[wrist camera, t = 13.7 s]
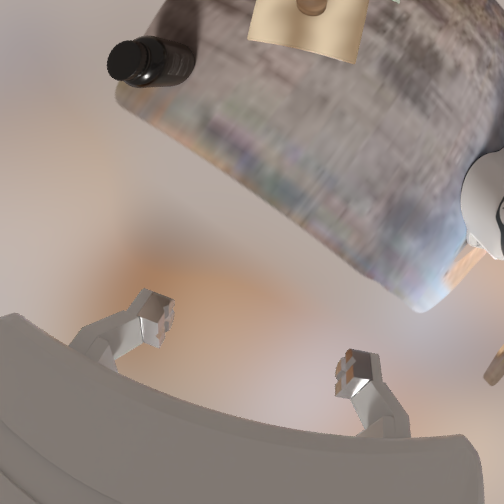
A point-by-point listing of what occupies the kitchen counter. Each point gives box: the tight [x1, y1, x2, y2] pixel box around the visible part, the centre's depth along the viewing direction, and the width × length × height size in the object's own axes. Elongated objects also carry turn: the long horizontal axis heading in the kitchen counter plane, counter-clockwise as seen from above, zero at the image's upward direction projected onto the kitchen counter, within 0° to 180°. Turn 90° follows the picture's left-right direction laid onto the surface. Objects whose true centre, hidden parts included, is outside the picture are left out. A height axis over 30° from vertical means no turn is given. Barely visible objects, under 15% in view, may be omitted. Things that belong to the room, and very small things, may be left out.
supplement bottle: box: [107, 36, 194, 88], centre depth 26 cm, size 7×7×12 cm
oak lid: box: [247, 0, 369, 64], centre depth 18 cm, size 12×12×5 cm
